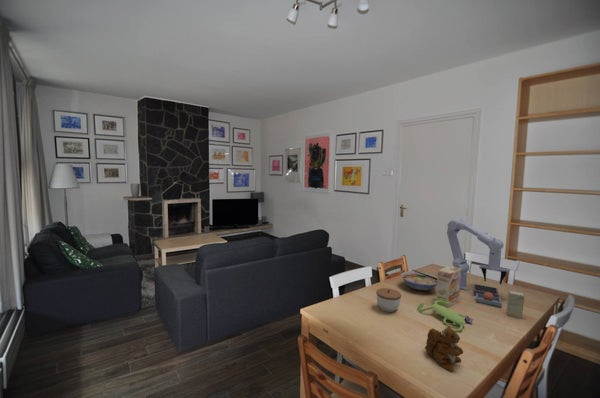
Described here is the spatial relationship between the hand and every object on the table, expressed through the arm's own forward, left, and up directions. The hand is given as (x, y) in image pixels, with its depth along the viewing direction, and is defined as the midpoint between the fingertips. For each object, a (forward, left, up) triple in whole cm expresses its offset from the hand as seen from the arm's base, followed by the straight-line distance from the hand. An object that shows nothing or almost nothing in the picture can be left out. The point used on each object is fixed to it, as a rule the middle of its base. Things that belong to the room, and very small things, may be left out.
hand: (492, 282), depth 170 cm
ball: (-2, -10, -6) cm, 11 cm away
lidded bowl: (-49, -51, -10) cm, 71 cm away
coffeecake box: (-22, -23, -10) cm, 33 cm away
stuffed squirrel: (-21, -81, -10) cm, 85 cm away
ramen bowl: (-39, -11, -10) cm, 42 cm away
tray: (-2, -10, -9) cm, 13 cm away
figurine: (-23, -43, -10) cm, 49 cm away
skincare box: (+9, -21, -10) cm, 24 cm away
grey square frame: (-3, +2, -9) cm, 10 cm away
